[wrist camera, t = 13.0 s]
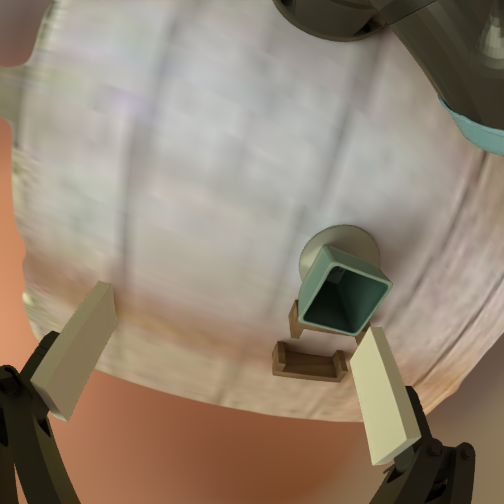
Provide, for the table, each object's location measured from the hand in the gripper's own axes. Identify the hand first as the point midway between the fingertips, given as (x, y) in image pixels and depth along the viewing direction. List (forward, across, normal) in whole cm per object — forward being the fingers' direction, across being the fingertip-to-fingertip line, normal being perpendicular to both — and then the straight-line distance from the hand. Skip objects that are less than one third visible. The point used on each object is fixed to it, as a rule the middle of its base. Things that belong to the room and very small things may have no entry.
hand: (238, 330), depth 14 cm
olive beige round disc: (+25, +14, -8) cm, 30 cm away
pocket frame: (+25, +15, -23) cm, 37 cm away
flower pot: (+24, +12, -8) cm, 29 cm away
